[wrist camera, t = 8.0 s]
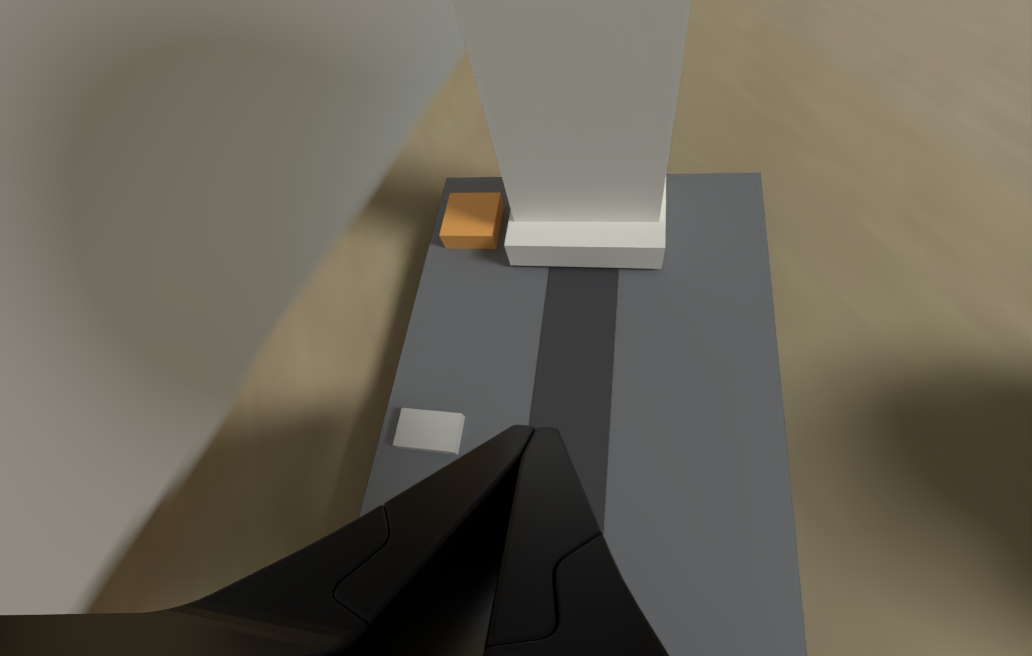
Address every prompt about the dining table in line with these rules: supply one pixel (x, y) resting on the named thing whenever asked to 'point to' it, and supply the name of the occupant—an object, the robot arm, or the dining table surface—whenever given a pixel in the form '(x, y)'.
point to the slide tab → (580, 122)
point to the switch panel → (623, 401)
